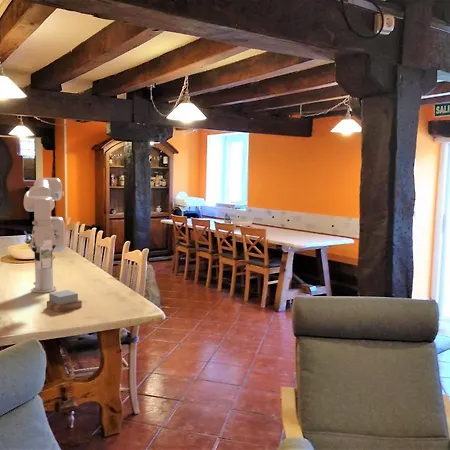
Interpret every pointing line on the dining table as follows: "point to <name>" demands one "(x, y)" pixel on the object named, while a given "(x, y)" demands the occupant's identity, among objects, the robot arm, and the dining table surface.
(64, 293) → the slate top block
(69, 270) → the dining table surface
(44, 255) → the syrup box
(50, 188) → the robot arm
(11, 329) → the dining table surface
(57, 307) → the walnut base block
